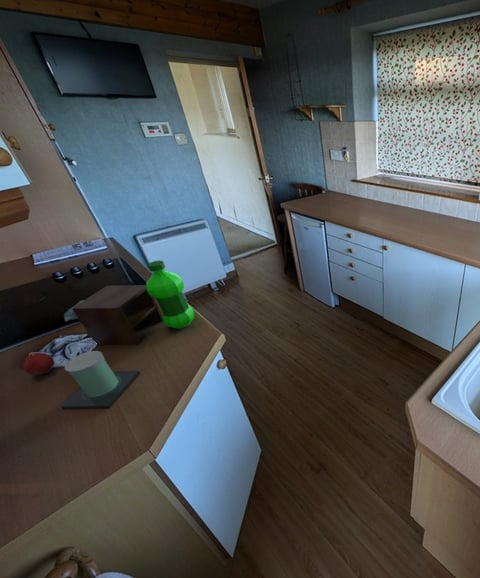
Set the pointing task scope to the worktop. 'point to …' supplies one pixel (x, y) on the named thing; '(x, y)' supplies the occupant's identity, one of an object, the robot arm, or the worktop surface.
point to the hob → (104, 401)
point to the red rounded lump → (38, 363)
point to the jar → (92, 373)
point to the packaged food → (71, 314)
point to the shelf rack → (117, 313)
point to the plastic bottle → (169, 296)
